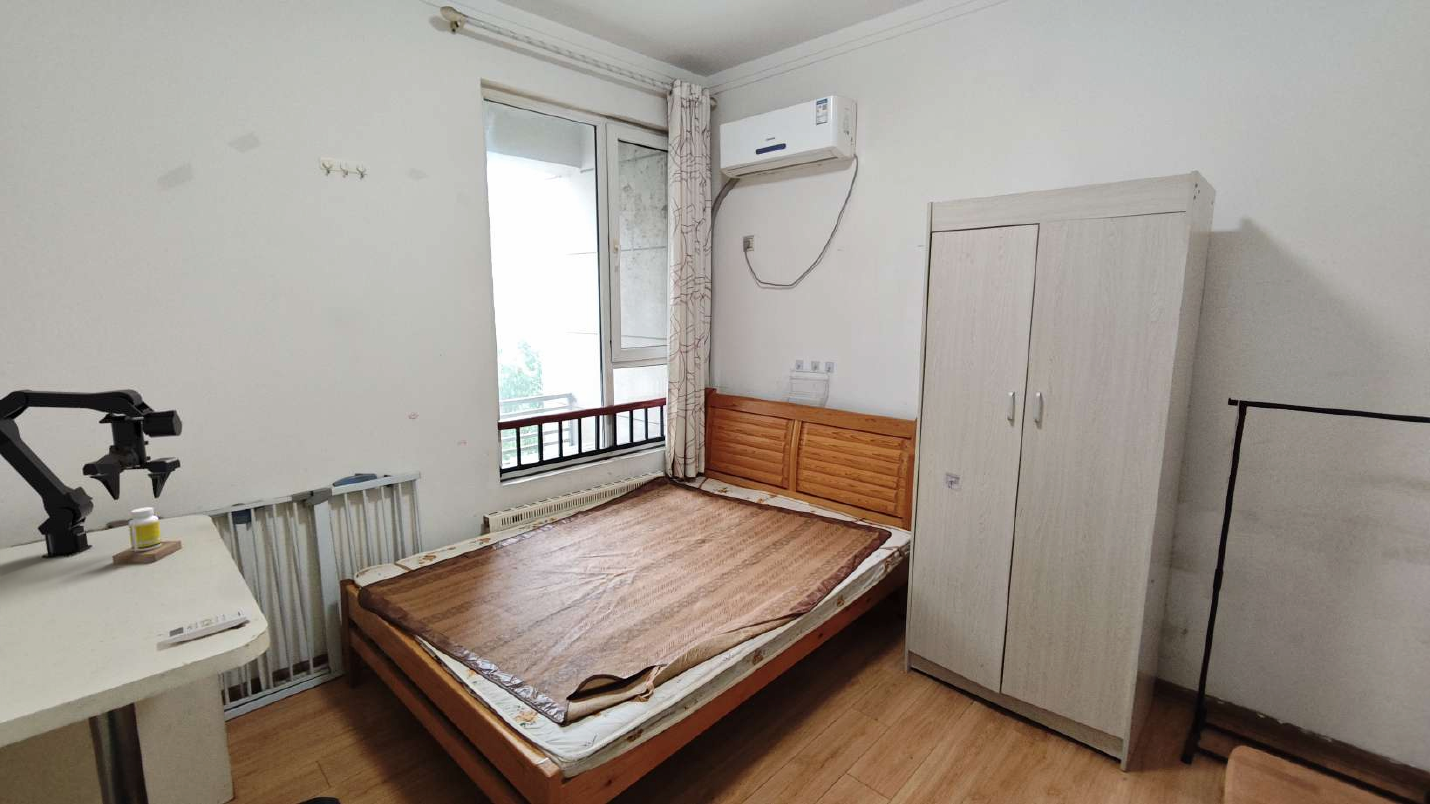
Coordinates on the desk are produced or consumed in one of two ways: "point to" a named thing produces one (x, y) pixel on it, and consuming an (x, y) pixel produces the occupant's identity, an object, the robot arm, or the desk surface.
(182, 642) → the desk surface
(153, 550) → the base plate
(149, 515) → the supplement bottle
